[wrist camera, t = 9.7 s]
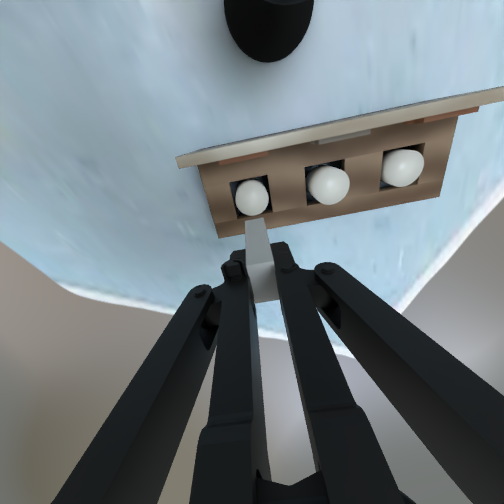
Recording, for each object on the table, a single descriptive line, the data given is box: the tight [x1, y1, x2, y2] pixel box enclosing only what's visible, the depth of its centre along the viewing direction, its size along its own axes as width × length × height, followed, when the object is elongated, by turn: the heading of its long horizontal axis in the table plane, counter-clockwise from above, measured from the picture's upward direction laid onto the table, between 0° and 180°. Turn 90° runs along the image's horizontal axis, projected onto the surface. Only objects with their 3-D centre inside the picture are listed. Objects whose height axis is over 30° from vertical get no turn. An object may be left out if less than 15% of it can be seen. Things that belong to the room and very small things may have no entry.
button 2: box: [380, 149, 424, 187], centre depth 29 cm, size 4×4×4 cm
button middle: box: [306, 165, 350, 205], centre depth 28 cm, size 4×4×4 cm
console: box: [175, 86, 504, 238], centre depth 27 cm, size 12×32×14 cm, turn 101°
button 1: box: [236, 178, 269, 216], centre depth 30 cm, size 4×4×4 cm
